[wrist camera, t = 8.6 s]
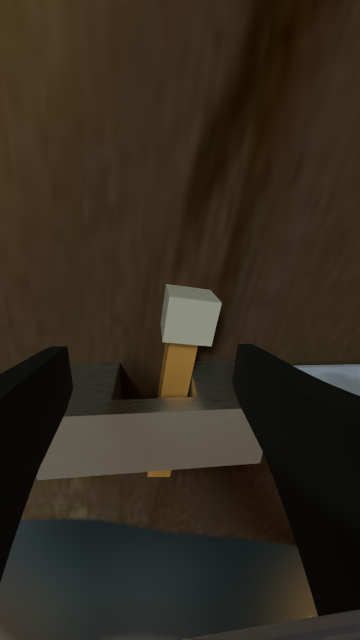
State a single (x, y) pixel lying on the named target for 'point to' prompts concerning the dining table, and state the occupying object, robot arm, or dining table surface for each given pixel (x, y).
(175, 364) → the wooden stick
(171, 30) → the dining table surface
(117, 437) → the block
